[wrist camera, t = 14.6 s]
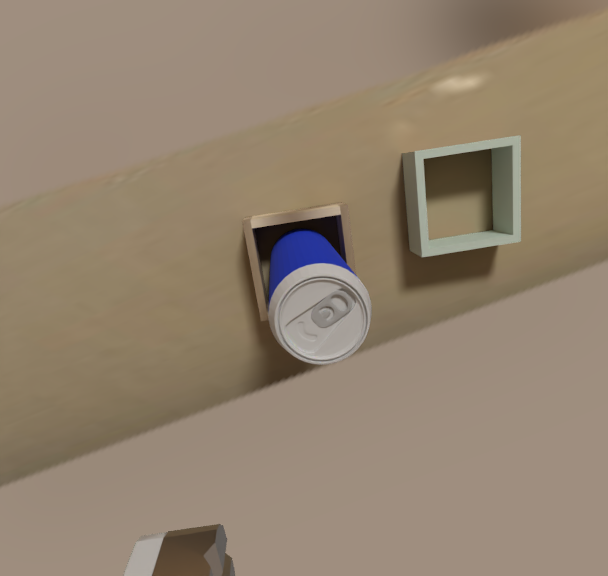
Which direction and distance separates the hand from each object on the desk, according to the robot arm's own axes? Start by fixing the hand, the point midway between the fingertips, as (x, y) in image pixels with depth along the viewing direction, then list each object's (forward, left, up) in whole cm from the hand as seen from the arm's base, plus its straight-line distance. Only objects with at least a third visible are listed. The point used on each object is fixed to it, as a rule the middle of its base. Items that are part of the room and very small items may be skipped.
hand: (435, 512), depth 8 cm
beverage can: (+1, 0, -27) cm, 27 cm away
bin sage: (-12, -3, -27) cm, 30 cm away
